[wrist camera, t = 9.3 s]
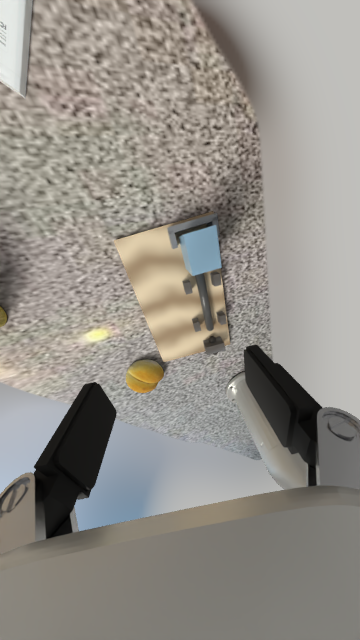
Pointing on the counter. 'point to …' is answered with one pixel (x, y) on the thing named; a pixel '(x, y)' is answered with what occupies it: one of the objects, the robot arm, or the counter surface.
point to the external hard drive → (15, 43)
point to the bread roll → (144, 375)
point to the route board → (174, 294)
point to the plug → (202, 262)
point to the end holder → (208, 220)
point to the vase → (2, 317)
